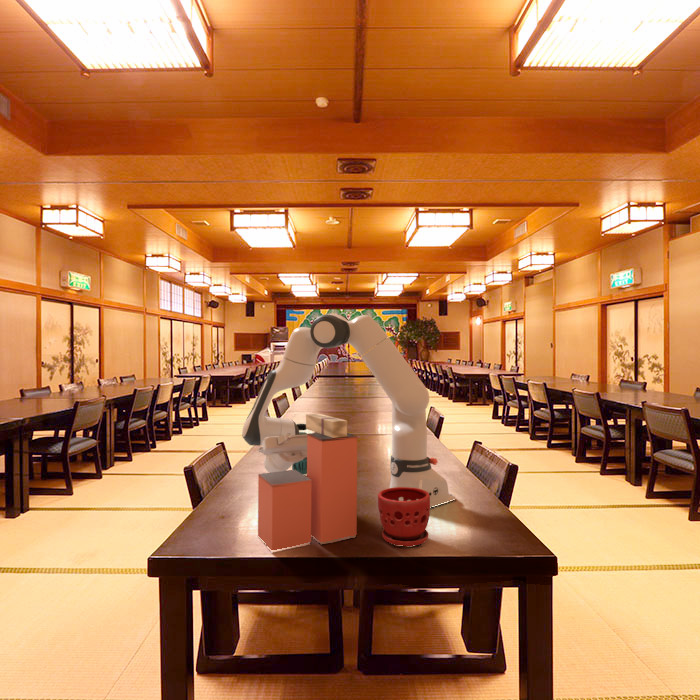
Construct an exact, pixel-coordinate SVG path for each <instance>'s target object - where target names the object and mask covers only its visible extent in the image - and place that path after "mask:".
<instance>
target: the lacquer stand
mask: <svg viewBox="0 0 700 700" xmlns="http://www.w3.org/2000/svg"><path fill="white" fill-rule="evenodd" d="M257 479H258V483H257V484H258V488H257V489H258V491H257V496H258V499H257V537H258V536H259V537H260V538H261V539H262V540H263V541H264V542H265V543H266V545H267V546H268V547H269V548H270V549H271V550H277V549H282V548H287V547H292V546H296V545H300V544H304V543H308V542H311V543H312V537H311V535H312V536H314V537H315V538H316V539H317V540H319V541H320V542H326V541H331V540H334V539H339V538H344V537H348V536H354V535H358V532H357V531H358V529H357V524H358V520H357V517H358V514H357V513H358V509H357V508H358V435H354V434H352V433H349V432H347V437H336V438H332V437H329V436H326V435H322V434H320V433H314V432H312V433H311V432H310V433H307V474H306V475H305V474H304V475H303V474H301V473H300V472H298V471H296V470H292V469H287V470H286V471H279V472H271V473H270V472H265V473H264V472H263V473H258V478H257ZM259 537H258V538H259ZM260 538H259V539H260Z"/></svg>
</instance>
